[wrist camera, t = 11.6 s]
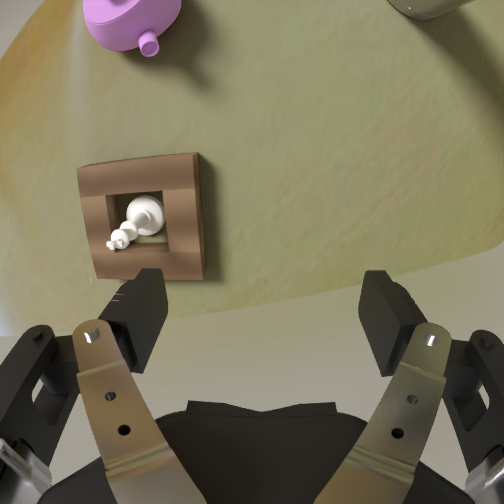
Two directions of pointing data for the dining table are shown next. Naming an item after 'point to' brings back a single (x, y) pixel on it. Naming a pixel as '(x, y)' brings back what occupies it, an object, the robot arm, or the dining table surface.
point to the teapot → (130, 23)
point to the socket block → (175, 206)
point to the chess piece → (138, 221)
